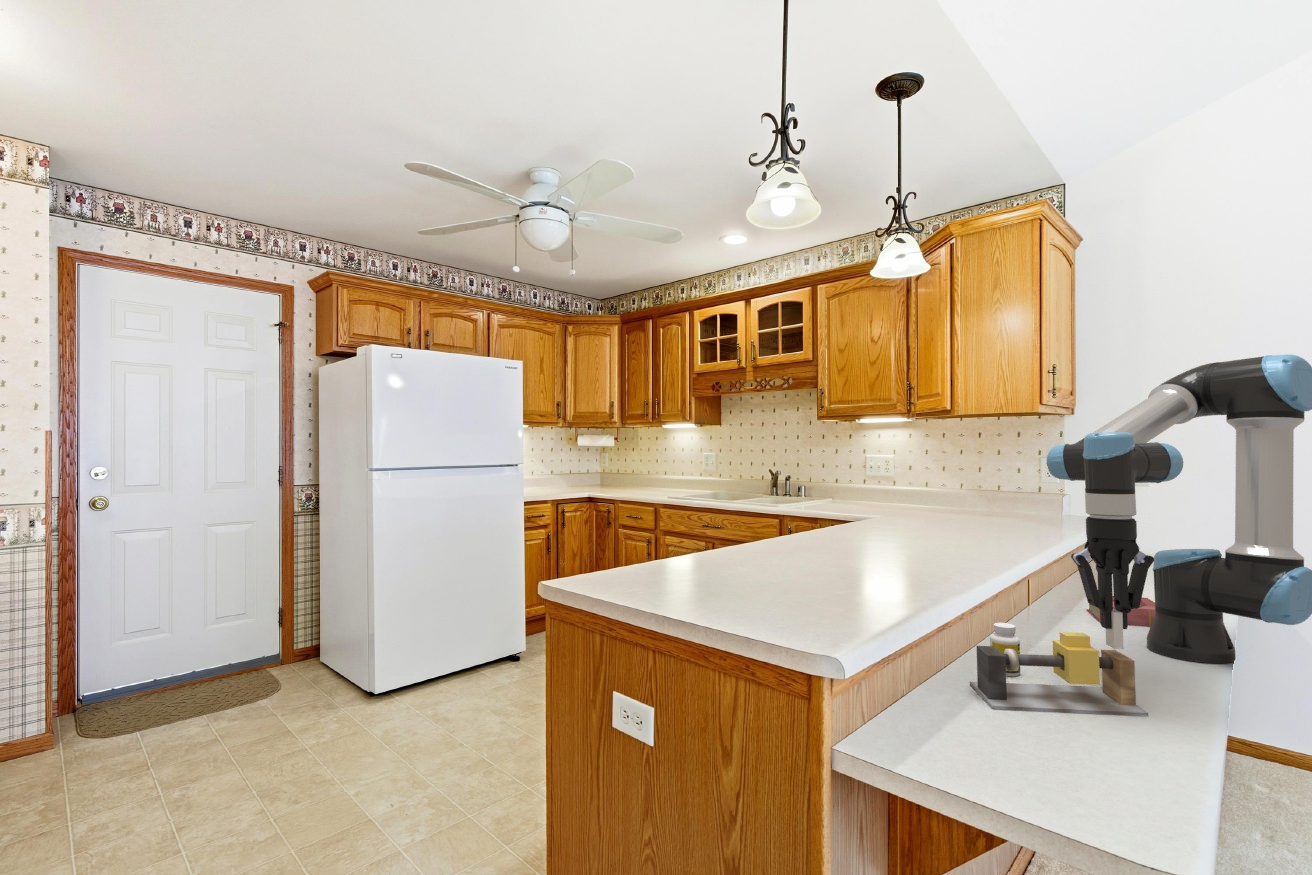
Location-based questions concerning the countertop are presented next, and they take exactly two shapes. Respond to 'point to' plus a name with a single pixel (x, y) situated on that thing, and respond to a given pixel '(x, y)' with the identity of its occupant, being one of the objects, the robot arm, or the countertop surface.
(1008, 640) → the supplement bottle
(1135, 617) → the book
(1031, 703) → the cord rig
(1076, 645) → the sleeve
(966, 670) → the countertop surface
